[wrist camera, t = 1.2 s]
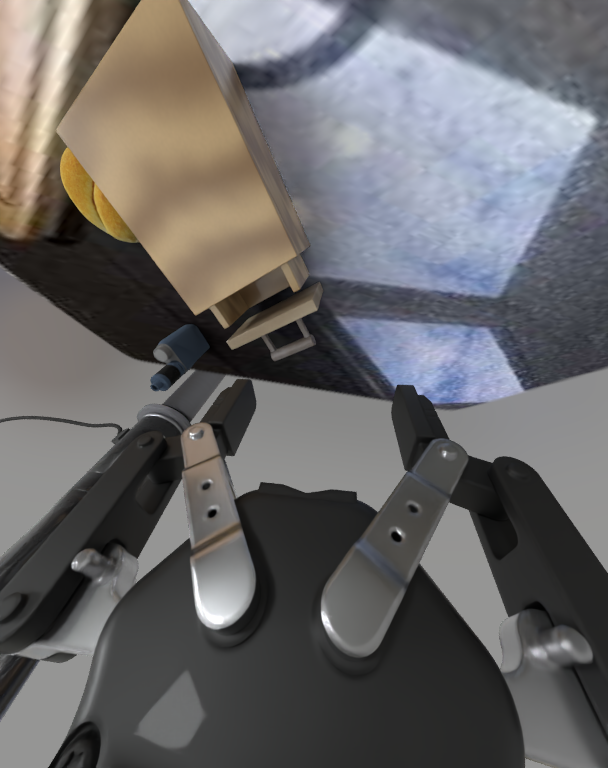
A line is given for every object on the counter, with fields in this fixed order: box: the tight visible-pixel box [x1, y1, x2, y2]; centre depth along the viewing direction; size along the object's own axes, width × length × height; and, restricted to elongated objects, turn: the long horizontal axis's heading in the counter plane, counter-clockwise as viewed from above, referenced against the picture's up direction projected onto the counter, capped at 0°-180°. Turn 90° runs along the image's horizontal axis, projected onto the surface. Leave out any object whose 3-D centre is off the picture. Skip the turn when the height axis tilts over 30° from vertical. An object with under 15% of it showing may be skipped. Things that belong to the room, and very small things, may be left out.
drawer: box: [210, 254, 323, 361], centre depth 26 cm, size 19×11×8 cm, turn 27°
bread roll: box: [60, 147, 139, 243], centre depth 26 cm, size 8×9×4 cm
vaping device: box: [151, 324, 210, 391], centre depth 32 cm, size 3×5×12 cm, turn 20°
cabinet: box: [56, 0, 310, 315], centre depth 22 cm, size 16×13×10 cm
